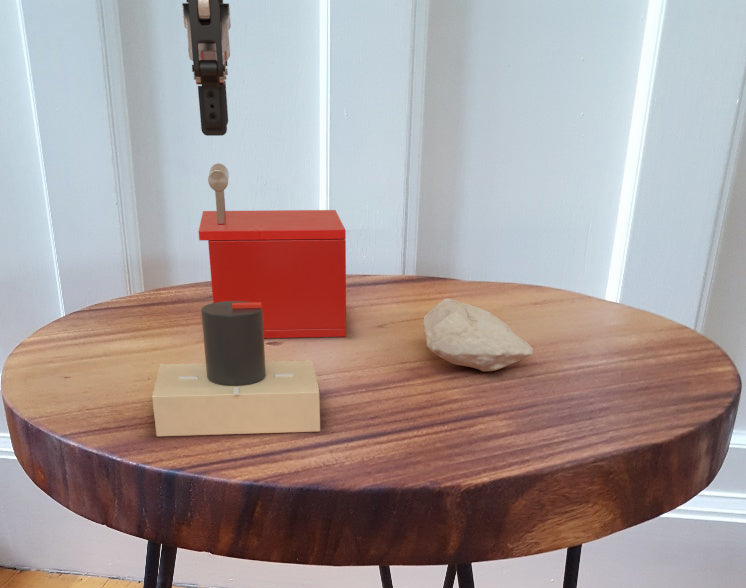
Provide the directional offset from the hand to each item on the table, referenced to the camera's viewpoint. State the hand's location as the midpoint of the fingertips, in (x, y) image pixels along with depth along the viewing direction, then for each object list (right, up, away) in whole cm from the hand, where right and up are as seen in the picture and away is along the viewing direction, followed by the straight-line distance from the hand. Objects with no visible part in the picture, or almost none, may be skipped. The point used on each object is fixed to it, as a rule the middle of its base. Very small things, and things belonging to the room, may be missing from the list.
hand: (215, 130), depth 87 cm
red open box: (+5, -14, +10) cm, 18 cm away
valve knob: (+4, -27, -15) cm, 31 cm away
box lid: (+5, -7, +5) cm, 10 cm away
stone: (+23, -21, 0) cm, 31 cm away
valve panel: (+4, -30, -14) cm, 33 cm away
